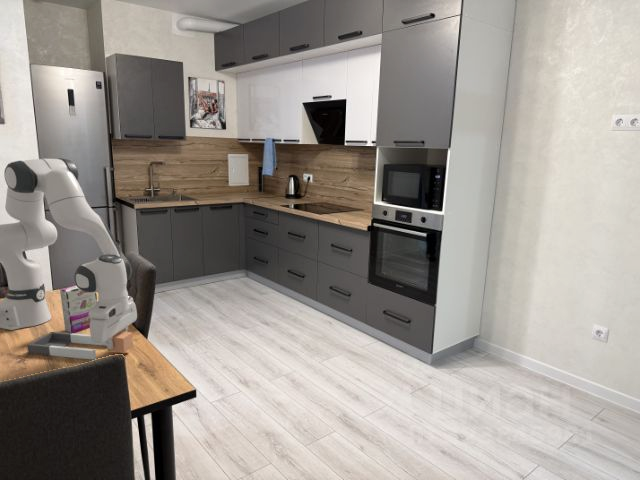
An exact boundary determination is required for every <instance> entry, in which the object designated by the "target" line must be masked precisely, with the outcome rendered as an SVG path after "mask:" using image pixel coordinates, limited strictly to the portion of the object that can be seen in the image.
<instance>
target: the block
mask: <svg viewBox="0 0 640 480" xmlns="http://www.w3.org/2000/svg"><path fill="white" fill-rule="evenodd" d="M133 339H134V338H133V332H131V331H127V332H122V331H120V332H118V333H117V334H115V335H114V336H112V339H111V340H112V342H115V347H114V348H112V349H108V348H107V347H106V349H107V352H113V353H123V354H125V353H127V351H129V350H130V349H131V348H133V347H134V341H133Z"/></svg>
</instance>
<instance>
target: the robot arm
mask: <svg viewBox="0 0 640 480" xmlns="http://www.w3.org/2000/svg"><path fill="white" fill-rule="evenodd" d="M3 175H4V181H5V183H6V185H7V189H6V190H7V191H6V197H5V206H4V207H5V211H6V214H8V215H9V216H10V217H11V218H13V219H15V220H17V222H13V223H11V222H10V223H3V224H0V263H1V265H2V267H3V268H4V271H5V275H6V279H7V284H8V287H7V288H5V289H3V290H2V293H3V294H5V297H4V298H3V299H2V300H1V301H0V329H4V330H9V331H14V330H19V329H22V328H30V327H34V326H38V325H41V324H44V323H46V322H48V321H50V320H51V319H52V318H53V317H52V315H51V312H50V309H49V306H48V302H47V299H46V286H45V283H43V275H42V267H41V265H40V263H38V262H37V261H35V260H32V259H28V258H25V257H24V255H23V252H27V251H31V250H33V251H34V250H38V249H44V248H45V247H46V248H47V247H49V246H52V245H54V244H55V243H56V241H57V239H58V230H57V228H56V226H55V225H54V224H53V223H52V222H51V221H49V220H47V219H46V218H45V217H44V214H43V204H44V197H45V201H46V202H47V206H48V209H49V212H50V214H51V217H52V218H53V221H55V222H56V224H58V226H60V227H63V228H65V229H67V230H72V231H78V232H83V233H85V234H88V235H89V236H91V237H93V239H94V240H95V241H96V243H97V245H98V246H99V248H100V250H101V252H102V255H99V256H98V257H97V258H96V259H95V260H92V261H90V262H87V263H83V264H81V265H79V266H78V267H77V268H76V270H75V271H74V282H75V286H77V287H78V288H79V289H80V290H82V291H84V292H96V294H98V295H97V303H96V304H95V306H94V307H93V308H92V309H91V310H90V311H89V318H92V319H91V321H90V328H89V335H91V340H92V341H93V342H96V343H103V342H106V343H107V346H106V349H107V348H108V349H112V348H114V347H115V342H112V340H111V339H112V336H114V335H115V334H117V333H118V332H120V331H122V332H128V330H129V326H130V325H131V324H133V323H135V322H136V321H137V318H138V312H137V311H138V310H137V305H136V303H135V302H134V298H133V297H132V296H131V295H129V292H128V290H127V284H128V281H129V280H130V278H131V276H132V272H133V269H132V265H131V263H130V261H129V260H128V258H127V257H126V256H125V254H124V253H123V251H122V250H121V248H120V246H119V245H118V243H117V240H116V239H115V236H114V235H113V234H112V232H111V230H110V228H109V226H108V224H107V223H106V221H105V220H104V218H103V217H102V216H101V215H100V214H98V213H96V211H94V210H93V208H92V207H91V206H90V204H89V203H88V201H87V200H86V197H85V196H86V195H85V194H84V191H83V189H82V187H81V186H80V183H79V170H78V168H77V165H76V164H75V163H74V162H73V161H72V160H70V159H67V158H61V157H60V158H45V157H44V158H37V159H36V158H35V159H27V160H16V161H15V160H14V161H12V162H8V164H7V165H6V167H5V169H4V174H3Z"/></svg>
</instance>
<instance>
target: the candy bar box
mask: <svg viewBox="0 0 640 480" xmlns="http://www.w3.org/2000/svg"><path fill="white" fill-rule="evenodd" d="M59 293H60V301H61V302H60V303H61V308H62V315H63V322H64V323H63V324H64V331H65V332H66V333H74V334H76V333H79V332H81V331H83V330H87V329H90V321H91V319H92V318H89V311H90V310H91V309H92V308H93V307H94V306H95V304H96V303H97V302H98V295H97V292H84V291H82V290H80V289H79V288H78V287H77V286H76V285H71V286H69V287H66V288H60V289H59Z"/></svg>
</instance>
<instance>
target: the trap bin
mask: <svg viewBox="0 0 640 480" xmlns="http://www.w3.org/2000/svg"><path fill="white" fill-rule="evenodd" d="M70 334H72V333H69V332H60V331H50V332H49V333H46V334H45V335H43V336H41V337H39V338H37V339H36V340H34V341H32V342H30V343H29V344H27V345H26V346H27V351H28V352H27V353H28V354H31V355H43V356H51V355H50V352H49V347H50V346H61V347H67V346H68V345H70V344H71V336H70Z"/></svg>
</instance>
